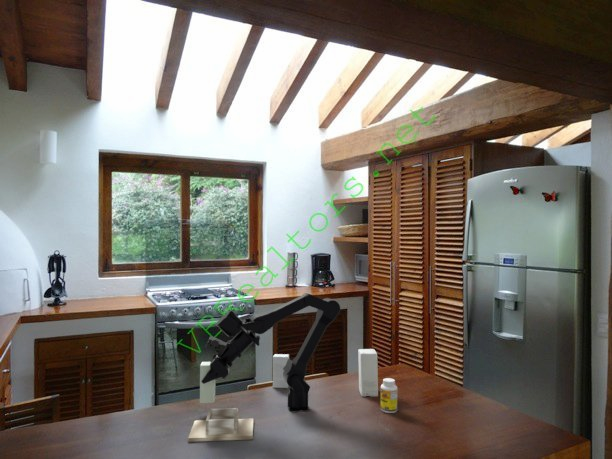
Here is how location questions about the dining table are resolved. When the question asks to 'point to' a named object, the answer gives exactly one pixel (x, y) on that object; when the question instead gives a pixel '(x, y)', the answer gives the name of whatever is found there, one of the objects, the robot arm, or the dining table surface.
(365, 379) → the skincare box
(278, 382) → the skincare box
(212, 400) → the peg
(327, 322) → the robot arm
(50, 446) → the dining table surface
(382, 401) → the supplement bottle
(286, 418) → the dining table surface
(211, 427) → the holder
